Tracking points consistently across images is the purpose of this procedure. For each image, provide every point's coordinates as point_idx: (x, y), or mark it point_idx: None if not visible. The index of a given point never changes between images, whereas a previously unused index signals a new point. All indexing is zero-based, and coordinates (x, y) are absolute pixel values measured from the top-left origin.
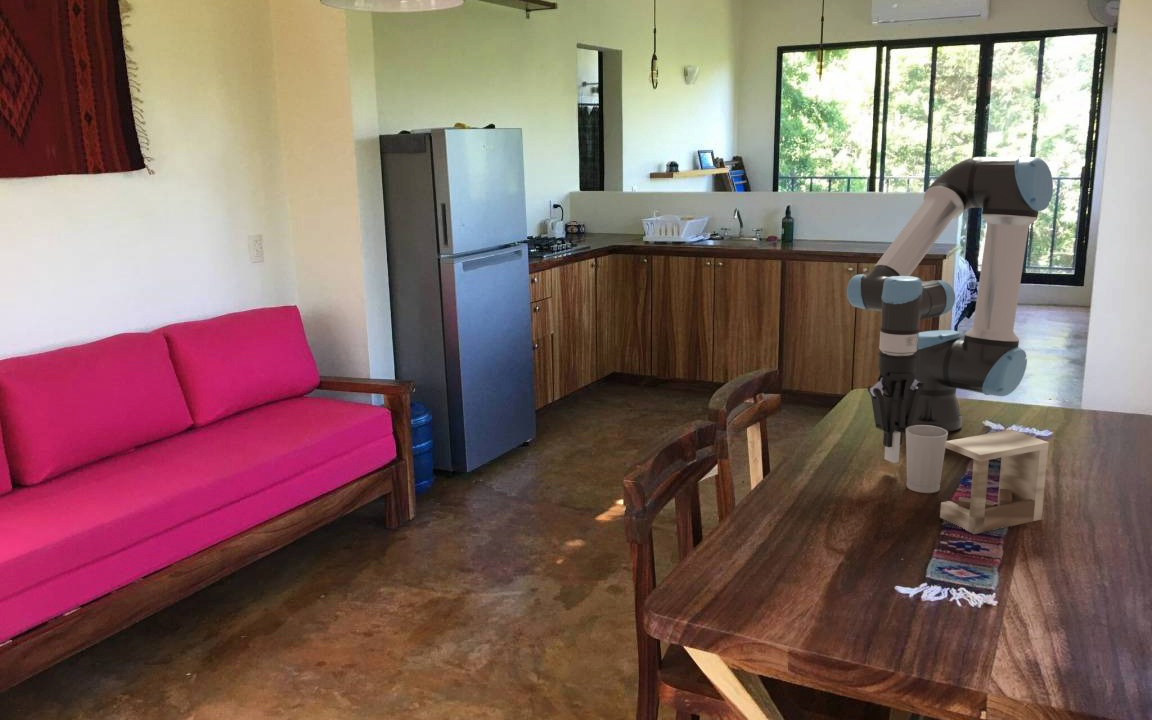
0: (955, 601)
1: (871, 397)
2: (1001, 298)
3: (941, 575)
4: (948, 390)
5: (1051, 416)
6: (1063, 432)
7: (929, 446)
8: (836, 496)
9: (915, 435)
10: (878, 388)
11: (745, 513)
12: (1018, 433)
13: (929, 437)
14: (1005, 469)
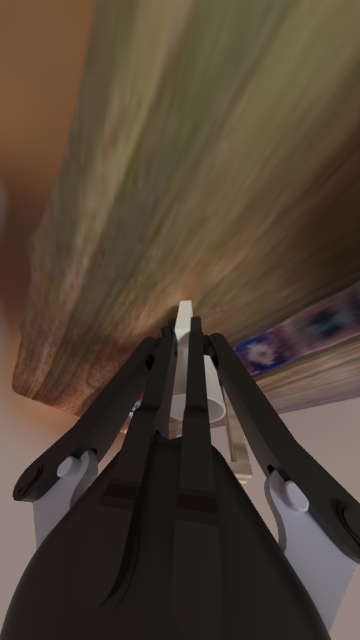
0: (131, 416)
1: (76, 423)
2: None
3: (134, 408)
4: None
5: None
6: None
7: (181, 404)
8: (104, 334)
9: None
10: (65, 497)
11: (26, 337)
12: (245, 477)
13: (179, 419)
14: (228, 420)
